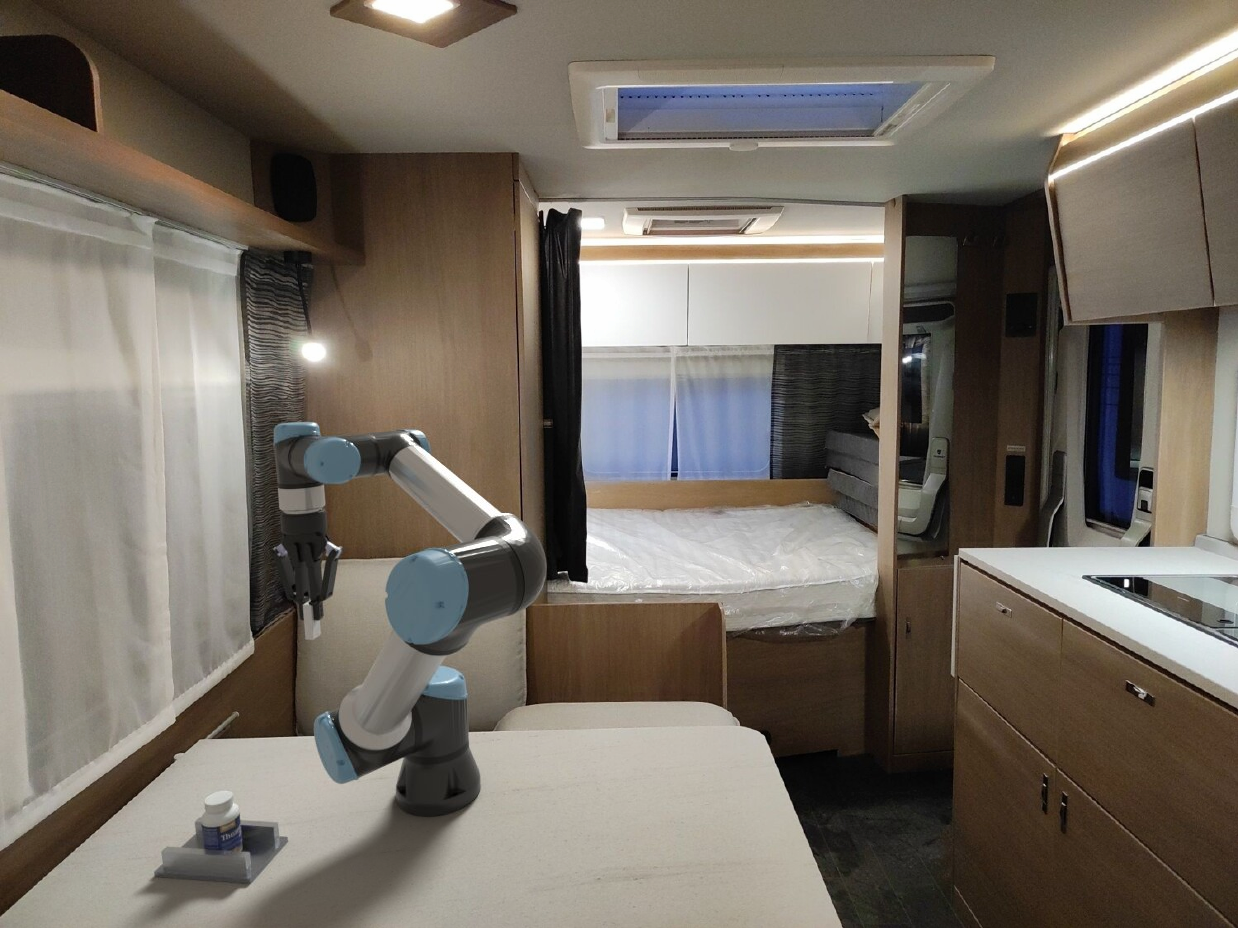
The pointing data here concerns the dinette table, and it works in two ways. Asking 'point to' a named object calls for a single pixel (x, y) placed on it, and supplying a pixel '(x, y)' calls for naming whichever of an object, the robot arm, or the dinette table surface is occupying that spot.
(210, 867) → the rail channel
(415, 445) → the robot arm
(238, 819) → the pill bottle
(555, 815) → the dinette table surface
